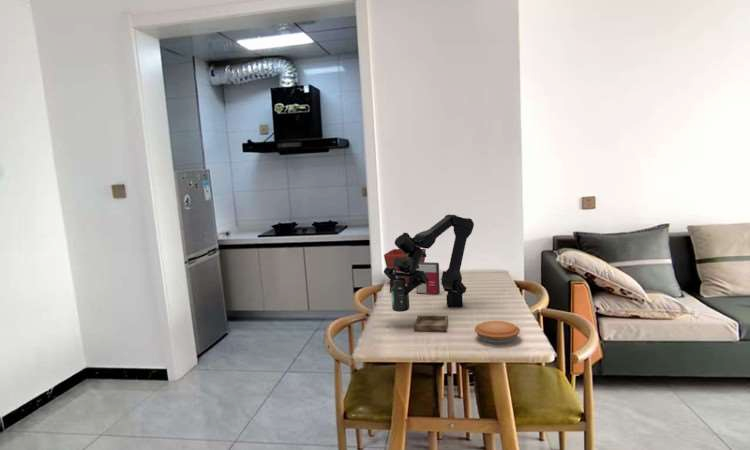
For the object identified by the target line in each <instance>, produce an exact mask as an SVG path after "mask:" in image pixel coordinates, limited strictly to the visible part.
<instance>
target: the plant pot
mask: <svg viewBox="0 0 750 450" xmlns="http://www.w3.org/2000/svg"><path fill="white" fill-rule="evenodd" d="M421 250H422V251H425V253H426V252H427V251H426V248H421ZM407 254H408V253H407ZM407 254H404V253H403V252H402V251H401V250H400V249H399V248H393V249H391V250H390V251H388V252H386V253H385V254H383V258H384V262H385V263H384V264H385V266H386V267H391V268H395V270H396V271H398V272H400V270H398V267H397V266H394V265H393V262H394V258H395V257H397V258H406V256H407ZM426 254H427V253H426ZM425 261H426V257H421V260H420V262H425ZM399 278H404V279H405V282H406V284H405V285H408V282H409V278H407V277H399Z"/></svg>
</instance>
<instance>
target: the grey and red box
mask: <svg viewBox="0 0 750 450" xmlns="http://www.w3.org/2000/svg"><path fill="white" fill-rule="evenodd" d="M418 266H419V269H416V270H420V271H424V272H425V274H426V275H427V276H428V278H429V281H428V283H427V284H421V285H419V286H417V287H416V294H421V295H423V294H424V295H439V294H440V293H441V288H440V263H439V262H430V261H429V262H425V261H424V262H419V264H418Z"/></svg>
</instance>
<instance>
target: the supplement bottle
mask: <svg viewBox="0 0 750 450" xmlns="http://www.w3.org/2000/svg"><path fill="white" fill-rule="evenodd" d="M393 285H394V286H393V287H392V288H391V293H390V295H391V309H392V310H393V311H394V312H398V313H400V312H406V311H407V312H408V311H409V310H410V295H409V294H410V292H409V293H408V294H407V295H404V292H405V289H406V287H407V284H406V282H405V279H404V278H396V279H393Z"/></svg>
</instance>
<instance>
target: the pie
mask: <svg viewBox="0 0 750 450" xmlns="http://www.w3.org/2000/svg"><path fill="white" fill-rule="evenodd" d="M520 331H521V329H520V327H518V326H517V325H515V324H514V323H511V322H508V321H504V320H488V321H484V322H481V323H479V324H477V325H476V326H475V327H474V332H475V334H477V336H479V339H480V340H481V341H482V342H484V343H486V344H491V345H507V344H510V343H513V342H514V341H515V339H516V337H517V336H518V335H519V334H520Z"/></svg>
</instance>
